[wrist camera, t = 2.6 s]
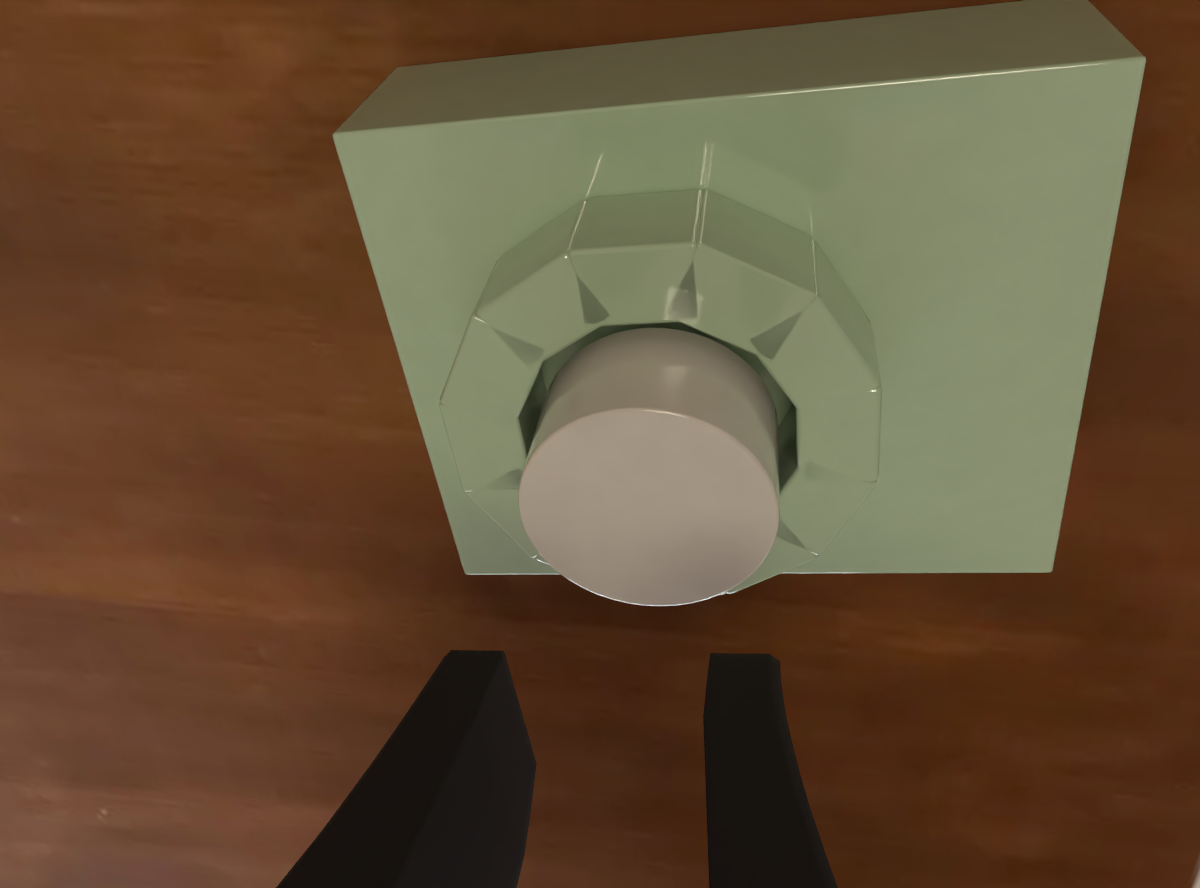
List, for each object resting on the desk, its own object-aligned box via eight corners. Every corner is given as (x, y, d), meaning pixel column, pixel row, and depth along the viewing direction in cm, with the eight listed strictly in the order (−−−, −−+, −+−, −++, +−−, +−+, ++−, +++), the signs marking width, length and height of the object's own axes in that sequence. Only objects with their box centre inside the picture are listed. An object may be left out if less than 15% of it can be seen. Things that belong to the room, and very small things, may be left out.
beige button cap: (774, 319, 14) (775, 404, 12) (781, 514, 16) (783, 608, 14) (524, 332, 14) (493, 413, 13) (563, 517, 17) (541, 607, 15)
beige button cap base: (1084, -7, 15) (1197, 104, 11) (1017, 463, 20) (1077, 651, 16) (395, 67, 17) (282, 183, 13) (498, 475, 22) (440, 644, 18)
